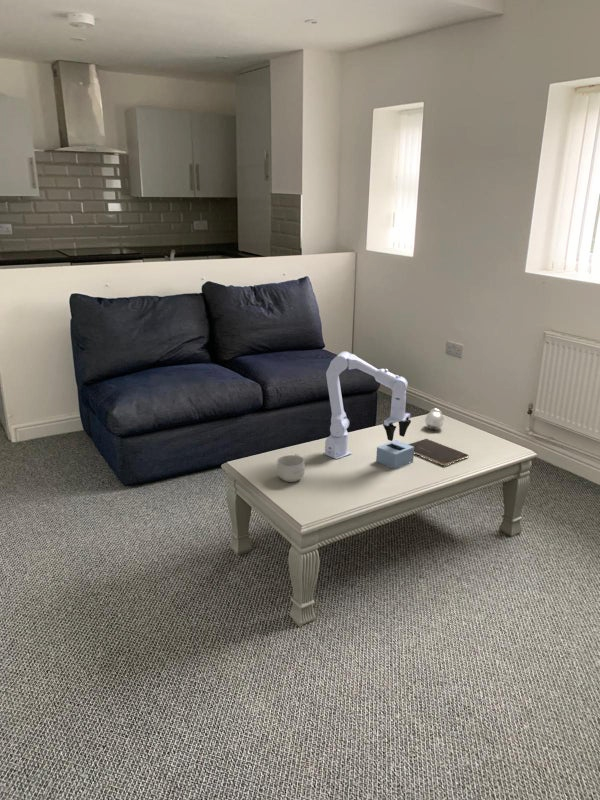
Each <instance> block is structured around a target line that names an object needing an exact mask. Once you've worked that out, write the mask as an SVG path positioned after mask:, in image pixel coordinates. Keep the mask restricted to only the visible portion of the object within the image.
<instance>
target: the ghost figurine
mask: <svg viewBox="0 0 600 800" xmlns="http://www.w3.org/2000/svg"><path fill="white" fill-rule="evenodd" d="M424 422H425V425H426V426H427V428H428V429H430V430H433V429H437V430H439V429H442V427H443V426H444V424H445V417H444V416H443V412H442V411H441V410H440V409H439V408H436V407H434V408H432V409H430V411H429V412H428V413H427V414H426V416H425V419H424Z"/></svg>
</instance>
